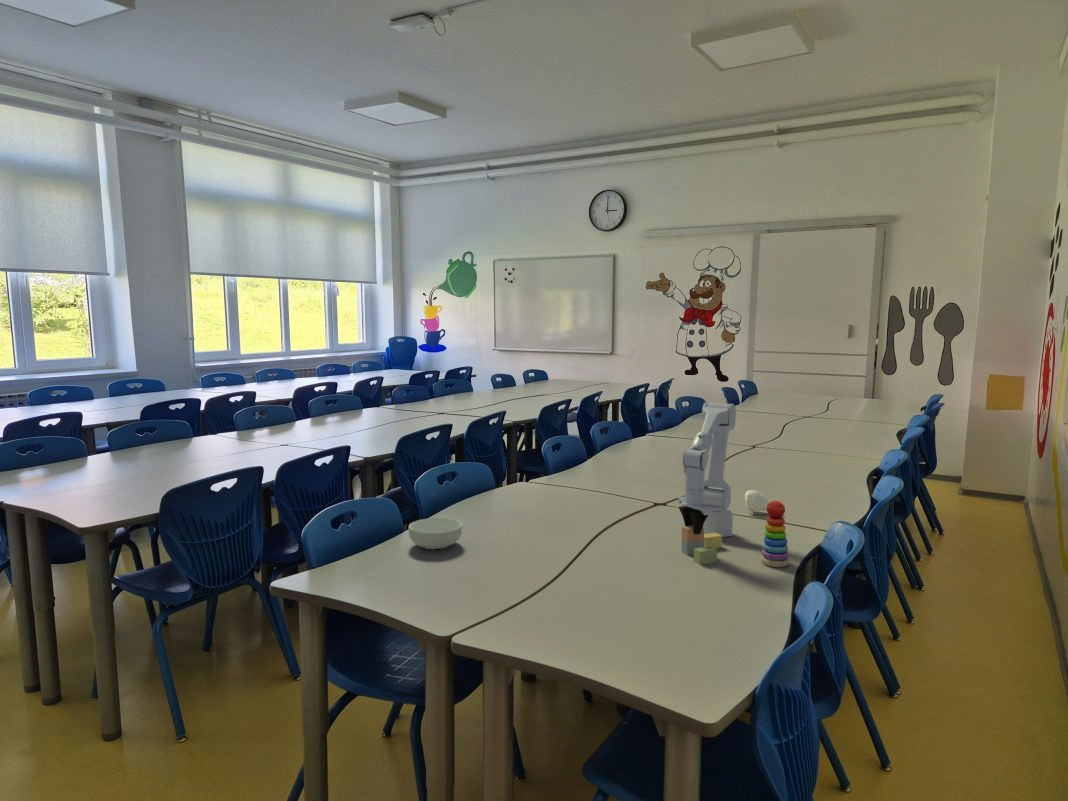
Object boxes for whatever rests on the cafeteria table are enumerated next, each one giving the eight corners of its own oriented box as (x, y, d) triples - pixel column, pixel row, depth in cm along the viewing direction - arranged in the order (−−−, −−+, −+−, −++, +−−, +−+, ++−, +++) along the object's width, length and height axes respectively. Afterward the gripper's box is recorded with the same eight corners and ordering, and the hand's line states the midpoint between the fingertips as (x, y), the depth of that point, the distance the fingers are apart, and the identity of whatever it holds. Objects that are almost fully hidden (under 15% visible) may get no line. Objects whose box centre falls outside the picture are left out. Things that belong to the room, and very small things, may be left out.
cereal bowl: (473, 545, 211) (472, 524, 210) (431, 559, 199) (431, 537, 198) (439, 534, 223) (438, 513, 222) (398, 546, 211) (397, 525, 210)
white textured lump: (745, 487, 248) (778, 492, 245) (742, 509, 250) (775, 514, 247) (745, 491, 242) (780, 496, 239) (742, 514, 243) (777, 519, 241)
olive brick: (710, 558, 200) (711, 546, 199) (716, 562, 197) (717, 549, 196) (693, 561, 197) (694, 548, 197) (699, 565, 195) (699, 552, 194)
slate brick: (698, 549, 207) (698, 537, 207) (703, 552, 205) (704, 540, 204) (681, 552, 205) (681, 539, 205) (687, 555, 202) (687, 542, 202)
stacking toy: (788, 560, 198) (791, 499, 196) (789, 569, 191) (792, 506, 188) (760, 557, 201) (763, 496, 198) (760, 566, 193) (763, 503, 191)
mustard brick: (715, 544, 212) (716, 532, 211) (721, 547, 209) (721, 535, 209) (699, 547, 210) (700, 534, 209) (705, 550, 207) (705, 537, 207)
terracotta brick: (698, 537, 207) (698, 524, 206) (703, 540, 204) (704, 527, 204) (681, 539, 205) (682, 526, 204) (687, 542, 202) (687, 529, 202)
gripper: (670, 484, 208) (669, 526, 209) (697, 495, 194) (695, 540, 196) (689, 482, 210) (688, 523, 212) (717, 493, 197) (715, 537, 198)
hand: (693, 531), depth 204 cm, fingers open, 4 cm apart
